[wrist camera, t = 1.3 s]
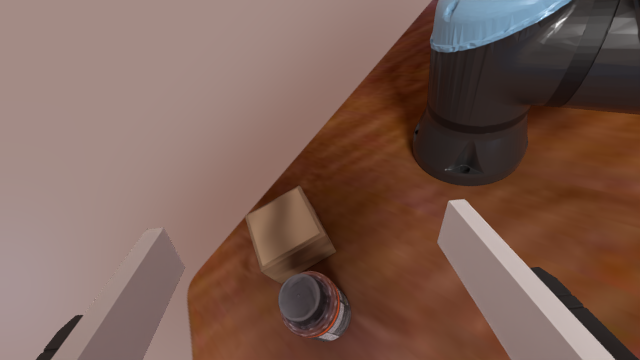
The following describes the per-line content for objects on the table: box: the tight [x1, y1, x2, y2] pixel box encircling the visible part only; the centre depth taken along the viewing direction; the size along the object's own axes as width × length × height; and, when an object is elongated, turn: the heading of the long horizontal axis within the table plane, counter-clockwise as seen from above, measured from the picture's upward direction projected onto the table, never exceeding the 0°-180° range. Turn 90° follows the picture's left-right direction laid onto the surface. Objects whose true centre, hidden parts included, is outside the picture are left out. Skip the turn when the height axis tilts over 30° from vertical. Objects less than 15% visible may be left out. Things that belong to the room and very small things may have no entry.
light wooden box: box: [245, 185, 336, 284], centre depth 35 cm, size 9×9×6 cm
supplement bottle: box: [278, 271, 351, 342], centre depth 27 cm, size 6×6×11 cm
